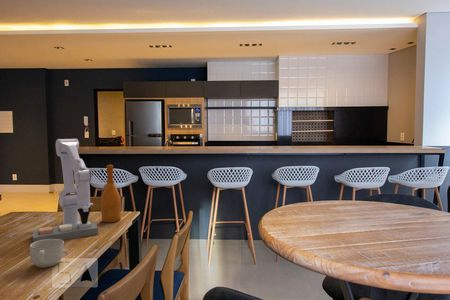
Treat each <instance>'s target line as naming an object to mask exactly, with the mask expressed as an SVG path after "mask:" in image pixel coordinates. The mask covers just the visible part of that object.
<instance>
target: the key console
mask: <svg viewBox="0 0 450 300" xmlns="http://www.w3.org/2000/svg"><path fill="white" fill-rule="evenodd" d="M89 222H90V223H91V227H87V228H81V229H79V228H78V224H73V225H72V230H68V231H61V232H60V230H59V226H54V227H53V226H52V231H53V233H48V234H41V235H40V232H39V228H38V229H34V230H32V241H33V242H32V243H34V242H36V241H40V240H45V239H60V240H63V241H64V240H65V241H66V240H72V239H76V238H81V237H82V238H84V237H87V236H88V237H90V236H95V235H96V236H97V235H98V234H99V227H98V226H97V224H96V223H95V221H89Z"/></svg>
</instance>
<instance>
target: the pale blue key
mask: <svg viewBox="0 0 450 300" xmlns="http://www.w3.org/2000/svg"><path fill="white" fill-rule="evenodd" d="M90 222H91V221H89V220H88V222H87V224H82V222H81V221H80V223H78V228H79V229H81V228H87V227H91V223H90Z"/></svg>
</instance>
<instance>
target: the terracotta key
mask: <svg viewBox="0 0 450 300" xmlns="http://www.w3.org/2000/svg"><path fill="white" fill-rule="evenodd" d="M52 227H53V226H46V227H45V226H44V227H39V228H38V229H39V232H40V235H41V234H48V233H53V231H52Z"/></svg>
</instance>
